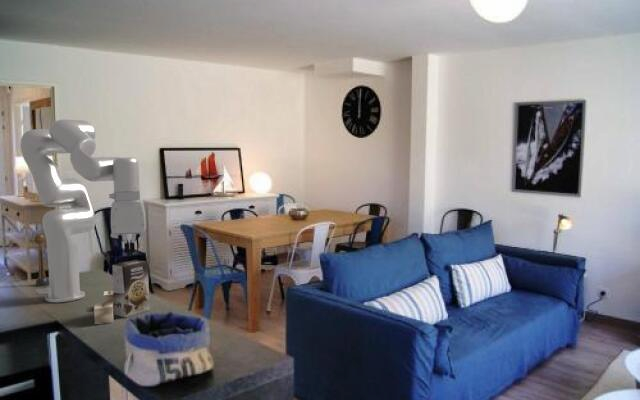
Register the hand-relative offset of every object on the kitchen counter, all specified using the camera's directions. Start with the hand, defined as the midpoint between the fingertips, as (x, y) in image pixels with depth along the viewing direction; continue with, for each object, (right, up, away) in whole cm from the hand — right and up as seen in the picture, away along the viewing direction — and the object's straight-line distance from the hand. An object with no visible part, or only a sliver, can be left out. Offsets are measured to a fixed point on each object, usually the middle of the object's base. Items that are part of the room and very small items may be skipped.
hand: (129, 254), depth 164 cm
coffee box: (0, -19, +2) cm, 19 cm away
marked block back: (-9, -18, +8) cm, 22 cm away
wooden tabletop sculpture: (-48, -16, +38) cm, 64 cm away
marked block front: (-5, -20, -7) cm, 21 cm away
